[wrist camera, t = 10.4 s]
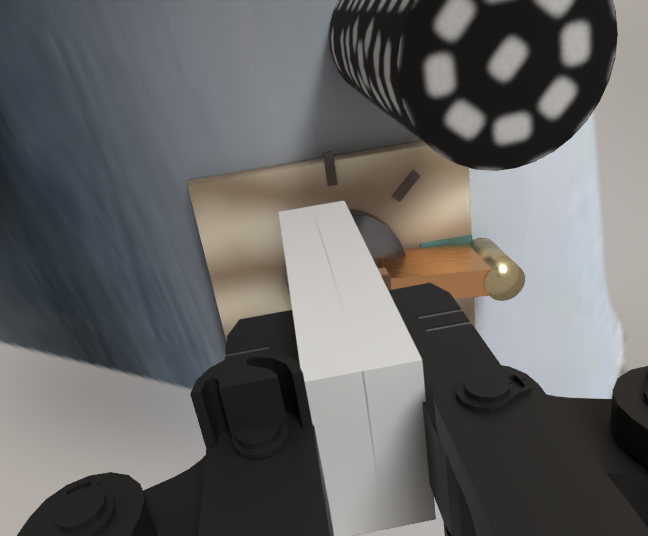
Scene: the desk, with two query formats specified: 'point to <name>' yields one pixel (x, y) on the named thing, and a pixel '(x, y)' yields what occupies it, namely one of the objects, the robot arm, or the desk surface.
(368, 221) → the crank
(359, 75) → the spotted tube
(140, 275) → the desk surface
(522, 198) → the desk surface
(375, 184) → the panel
